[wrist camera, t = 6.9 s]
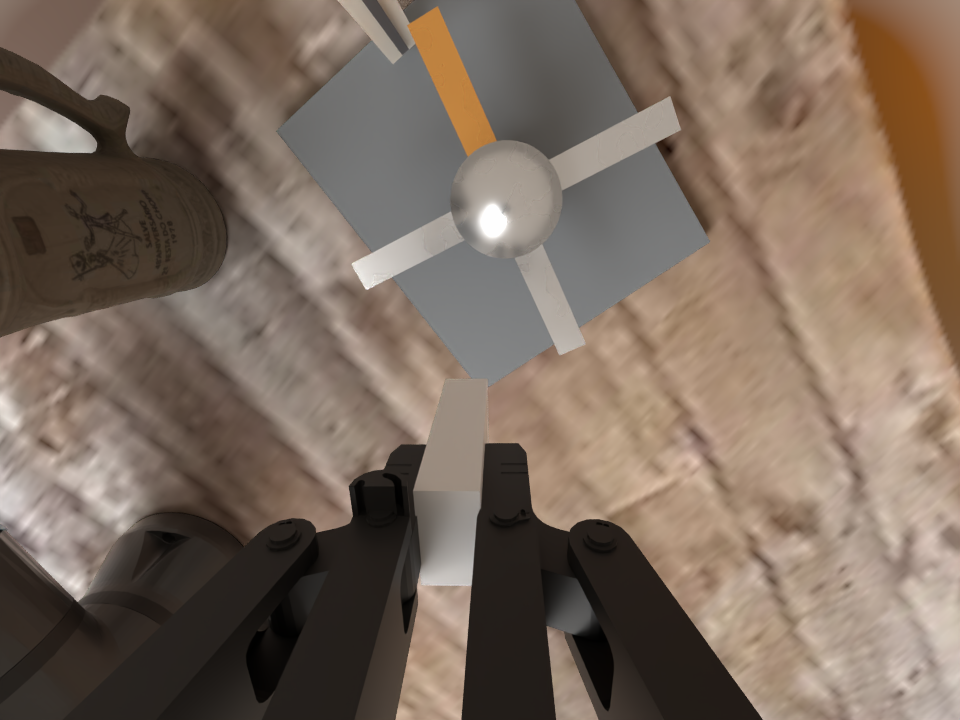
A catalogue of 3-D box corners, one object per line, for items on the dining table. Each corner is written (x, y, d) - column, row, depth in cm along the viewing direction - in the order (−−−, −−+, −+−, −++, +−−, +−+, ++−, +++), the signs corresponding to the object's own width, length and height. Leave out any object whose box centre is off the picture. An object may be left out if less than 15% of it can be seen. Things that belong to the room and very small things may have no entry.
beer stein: (242, 297, 40) (8, 361, 21) (126, 301, 41) (-205, 367, 22) (206, 102, 36) (-128, -39, 17) (77, 109, 37) (-388, -18, 18)
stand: (482, 384, 42) (473, 467, 30) (285, 133, 36) (165, 101, 23) (702, 239, 37) (806, 265, 24) (518, -86, 30) (529, -284, 18)
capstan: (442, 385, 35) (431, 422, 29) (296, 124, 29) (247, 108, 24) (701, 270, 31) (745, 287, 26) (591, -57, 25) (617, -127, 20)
